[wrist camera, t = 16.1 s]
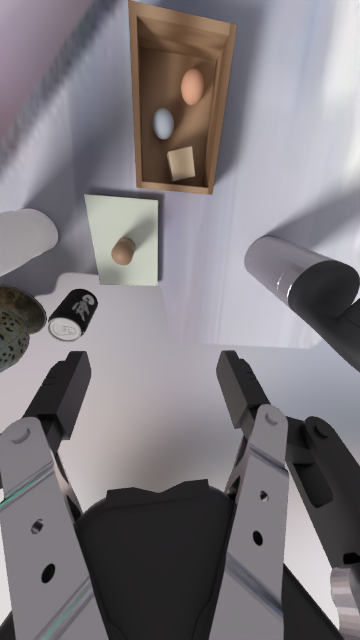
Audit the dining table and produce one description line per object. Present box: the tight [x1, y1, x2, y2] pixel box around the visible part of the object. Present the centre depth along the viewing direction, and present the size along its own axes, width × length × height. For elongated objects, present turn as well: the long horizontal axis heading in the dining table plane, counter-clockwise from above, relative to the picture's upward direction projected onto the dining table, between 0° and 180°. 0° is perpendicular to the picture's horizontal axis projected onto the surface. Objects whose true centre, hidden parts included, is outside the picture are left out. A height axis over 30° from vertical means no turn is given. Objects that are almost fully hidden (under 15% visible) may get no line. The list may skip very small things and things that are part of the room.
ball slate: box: [152, 108, 174, 139], centre depth 28 cm, size 3×3×3 cm
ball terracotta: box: [181, 68, 204, 105], centre depth 26 cm, size 3×3×3 cm
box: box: [128, 0, 237, 195], centre depth 27 cm, size 12×16×6 cm
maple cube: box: [167, 146, 195, 182], centre depth 30 cm, size 4×4×4 cm
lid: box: [84, 194, 158, 286], centre depth 36 cm, size 13×17×8 cm
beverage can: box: [47, 289, 98, 342], centre depth 40 cm, size 7×7×12 cm
